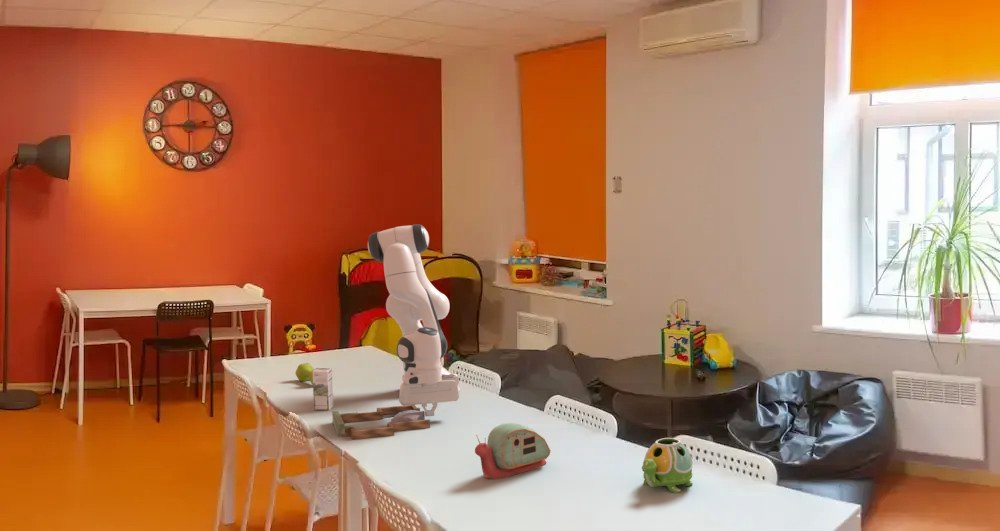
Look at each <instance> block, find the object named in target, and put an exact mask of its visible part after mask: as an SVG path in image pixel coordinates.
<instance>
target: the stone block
mask: <svg viewBox="0 0 1000 531" xmlns="http://www.w3.org/2000/svg"><path fill="white" fill-rule="evenodd" d="M417 420H426V416H425V410H420V411H416V410H407V411H403V412H399V413H398V414H396V415H395V416H394V417H391V418H390V423H396V422H407V421H417Z"/></svg>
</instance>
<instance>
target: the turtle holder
mask: <svg viewBox="0 0 1000 531" xmlns="http://www.w3.org/2000/svg"><path fill="white" fill-rule="evenodd" d="M693 466H694V465H693V458H692V455H691V454H690V451H689V450H688V448H687V447H686V445H684V444H683V442H682V441H681V440H680V439H677V438H673V437H664V438H660V439H656V441H655V442H654V443H652V445H651V446H650V447H649V448H648V449H647V451H646V452H645V456H644V460H643V462H642V465H641V470H642V472H643V484H644V485H645V486H650V487H651V488H652V487H653V488H654V487H667V490H669V492H671V493H675V494H677V493H680V492H681V491H682V490H681V488H678V487H677V486H679V485H682V484H684V486H685V487H690V486H693V481H691V479H692V478H693Z"/></svg>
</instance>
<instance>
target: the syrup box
mask: <svg viewBox="0 0 1000 531" xmlns="http://www.w3.org/2000/svg"><path fill="white" fill-rule="evenodd" d="M313 369H314V370H313V372H312V373H313V385H312V395H313V397H312V398H313V410H314V411H330V410H331V409H332V408H333V407H334V399H333V396H334V395H333V369H332V368H331V367H316V368H313Z"/></svg>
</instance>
